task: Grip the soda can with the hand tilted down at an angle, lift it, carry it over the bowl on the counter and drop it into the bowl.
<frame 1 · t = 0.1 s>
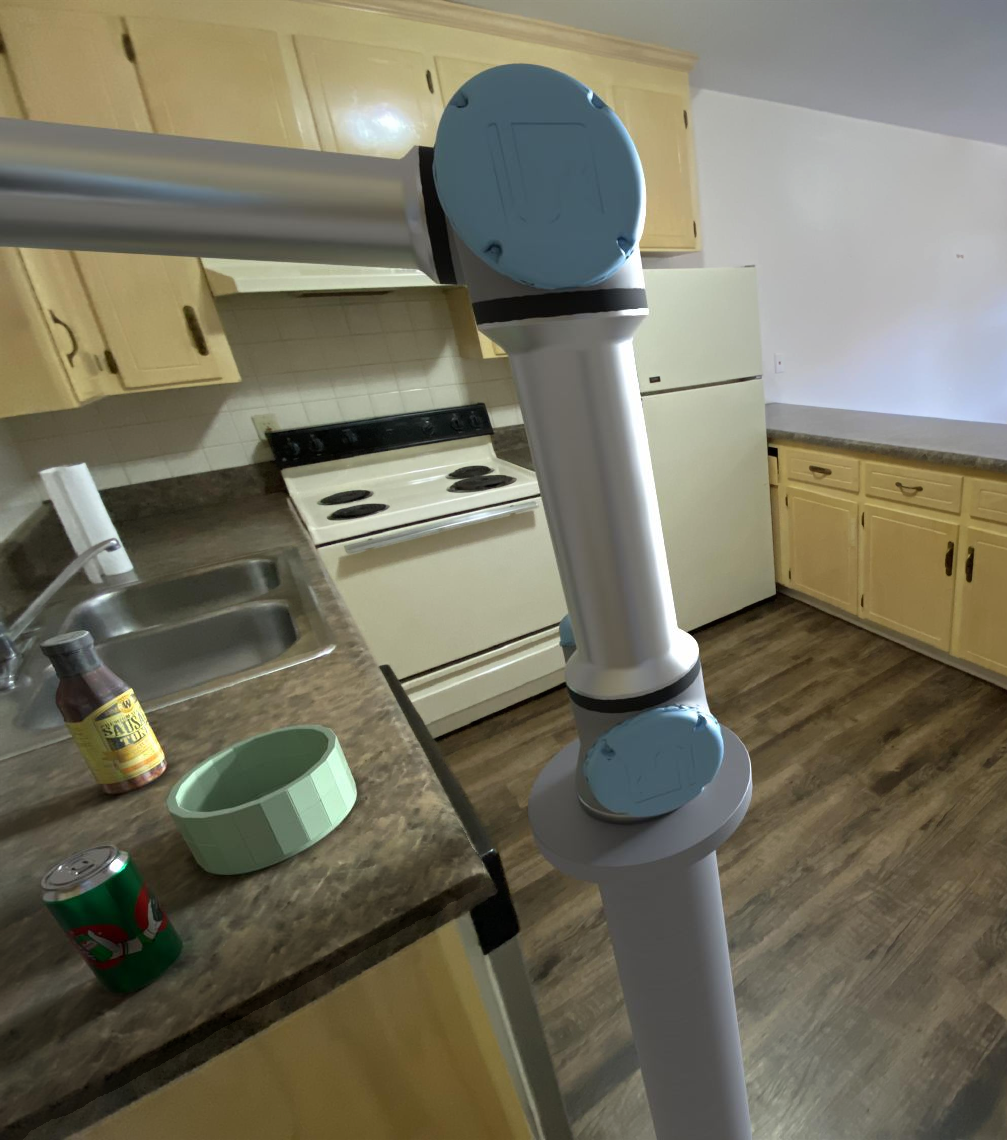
soda can: (148, 970, 53), on the countertop
sauce bottle: (139, 779, 78), on the countertop
bowl: (281, 820, 69), on the countertop
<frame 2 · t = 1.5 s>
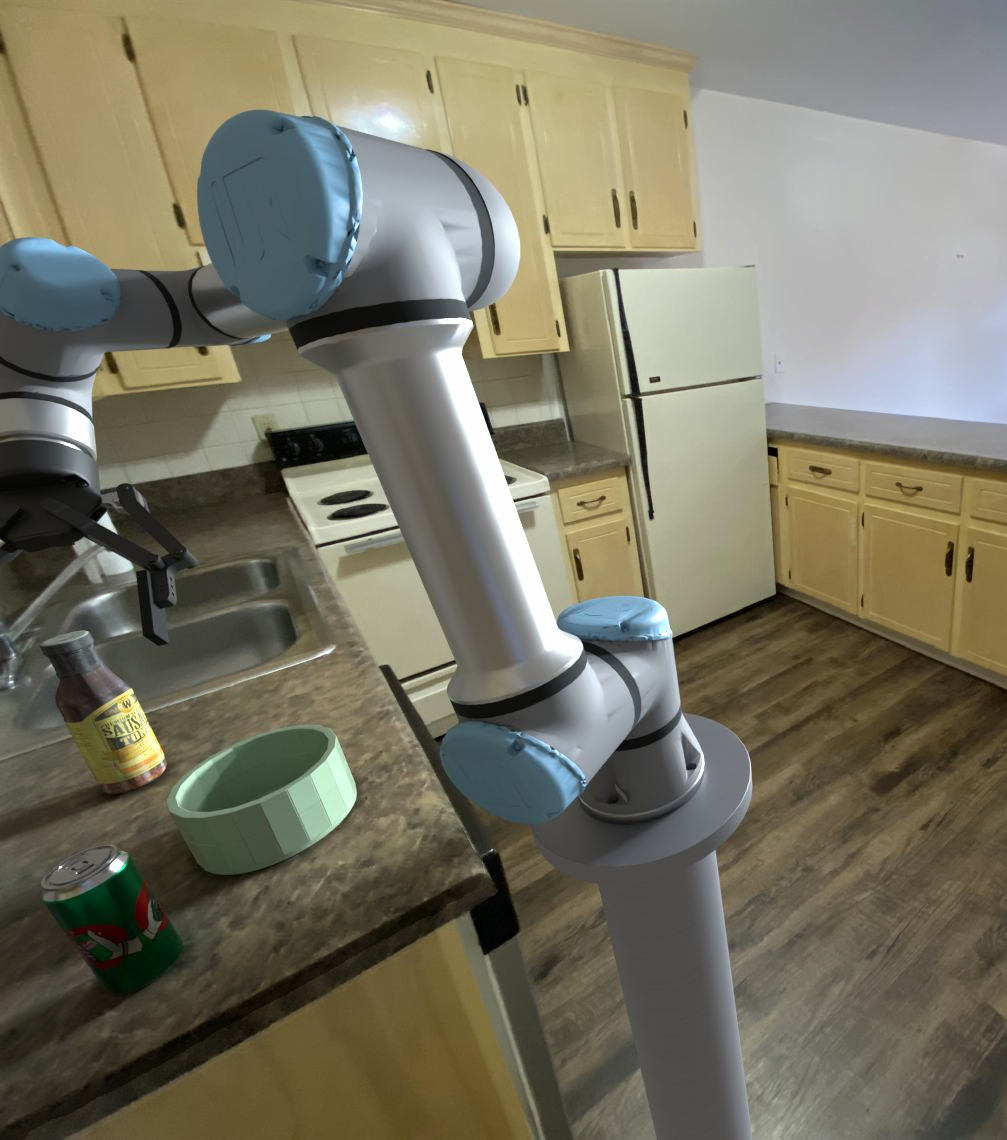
hand: (52, 664, 52), 25 cm above the countertop, tool tilted 45°, fingers open, 13 cm apart
nothing on the countertop moved.
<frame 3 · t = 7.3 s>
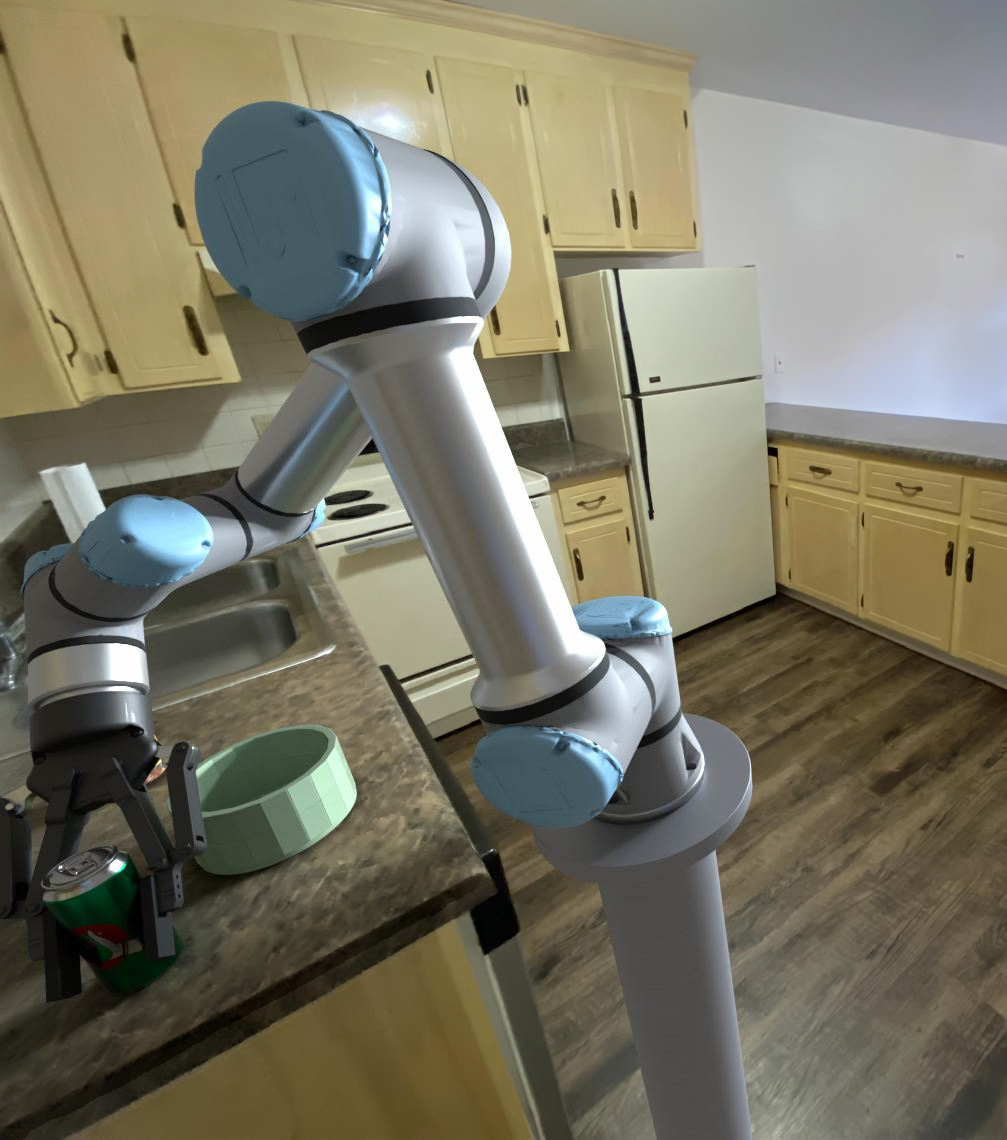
hand: (114, 977, 49), 3 cm above the countertop, tool tilted 45°, fingers closed on soda can, 5 cm apart
soda can: (148, 970, 53), on the countertop, touching gripper
everything else where it was.
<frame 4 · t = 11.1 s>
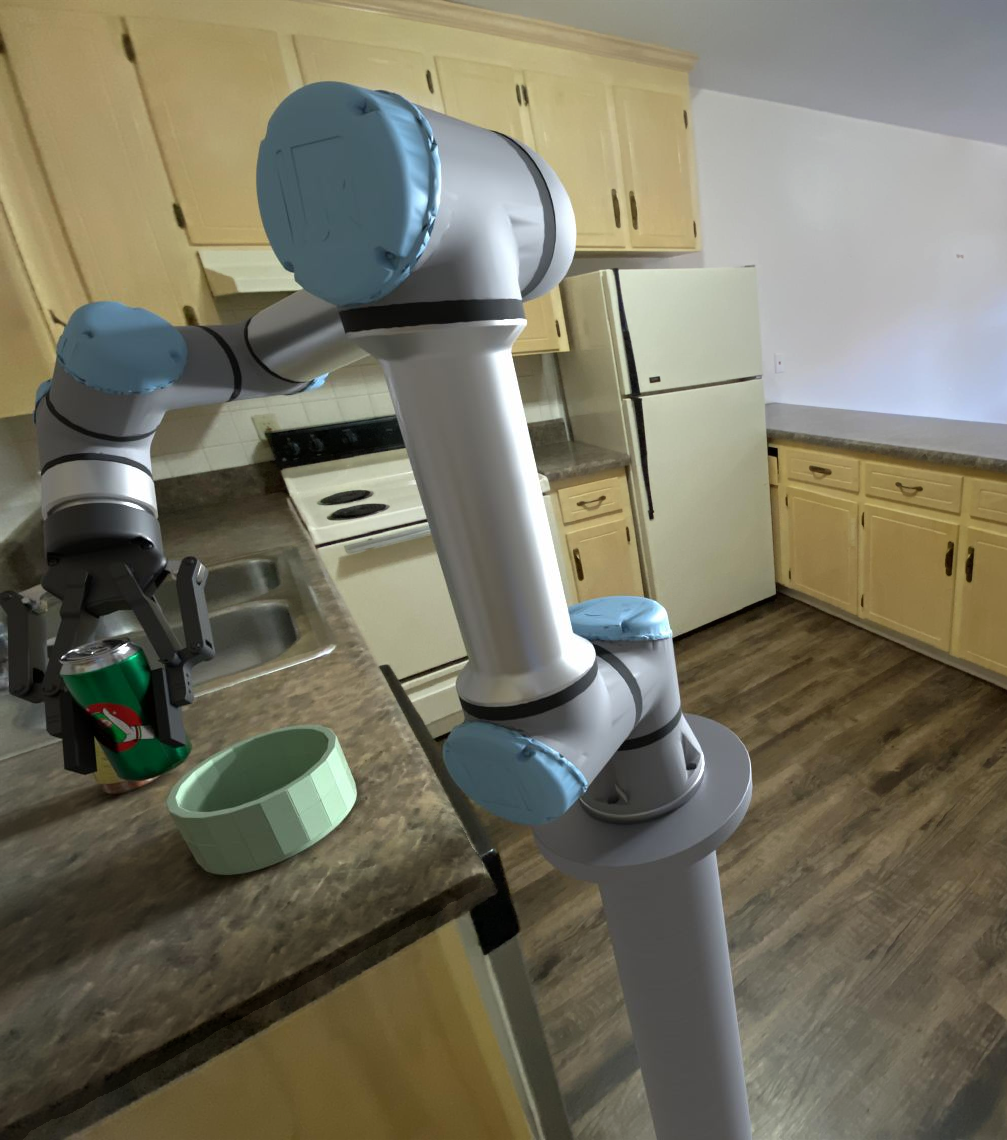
hand: (128, 756, 51), 18 cm above the countertop, tool tilted 45°, fingers closed on soda can, 5 cm apart
soda can: (160, 767, 56), point 15 cm above the countertop, touching gripper
everything else where it was.
when the fingers open (9 cm above the countertop, at t = 15.2 s): soda can drops 5 cm, resting on bowl.
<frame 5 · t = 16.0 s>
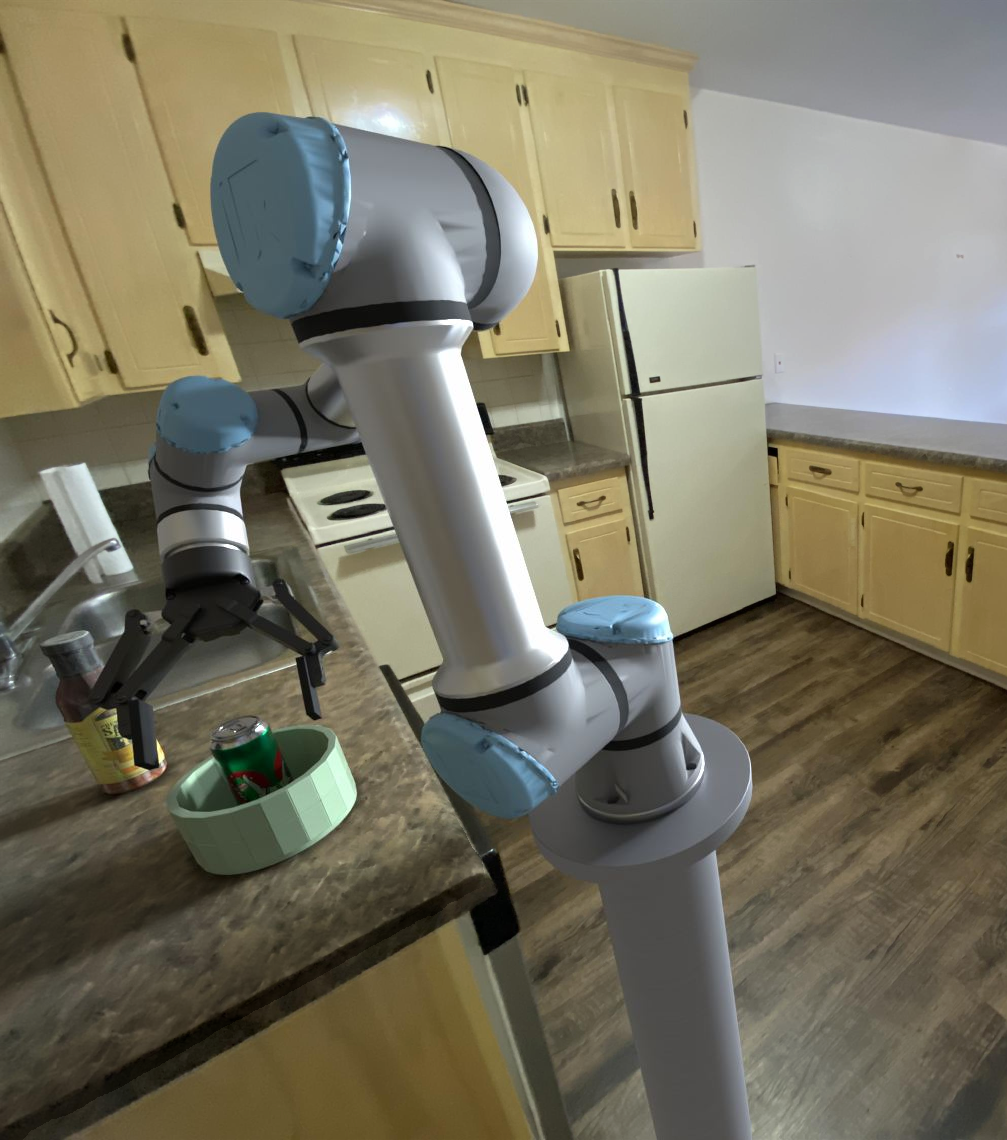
hand: (234, 740, 62), 12 cm above the countertop, tool tilted 45°, fingers open, 13 cm apart
soda can: (278, 817, 69), resting on bowl
everything else where it was.
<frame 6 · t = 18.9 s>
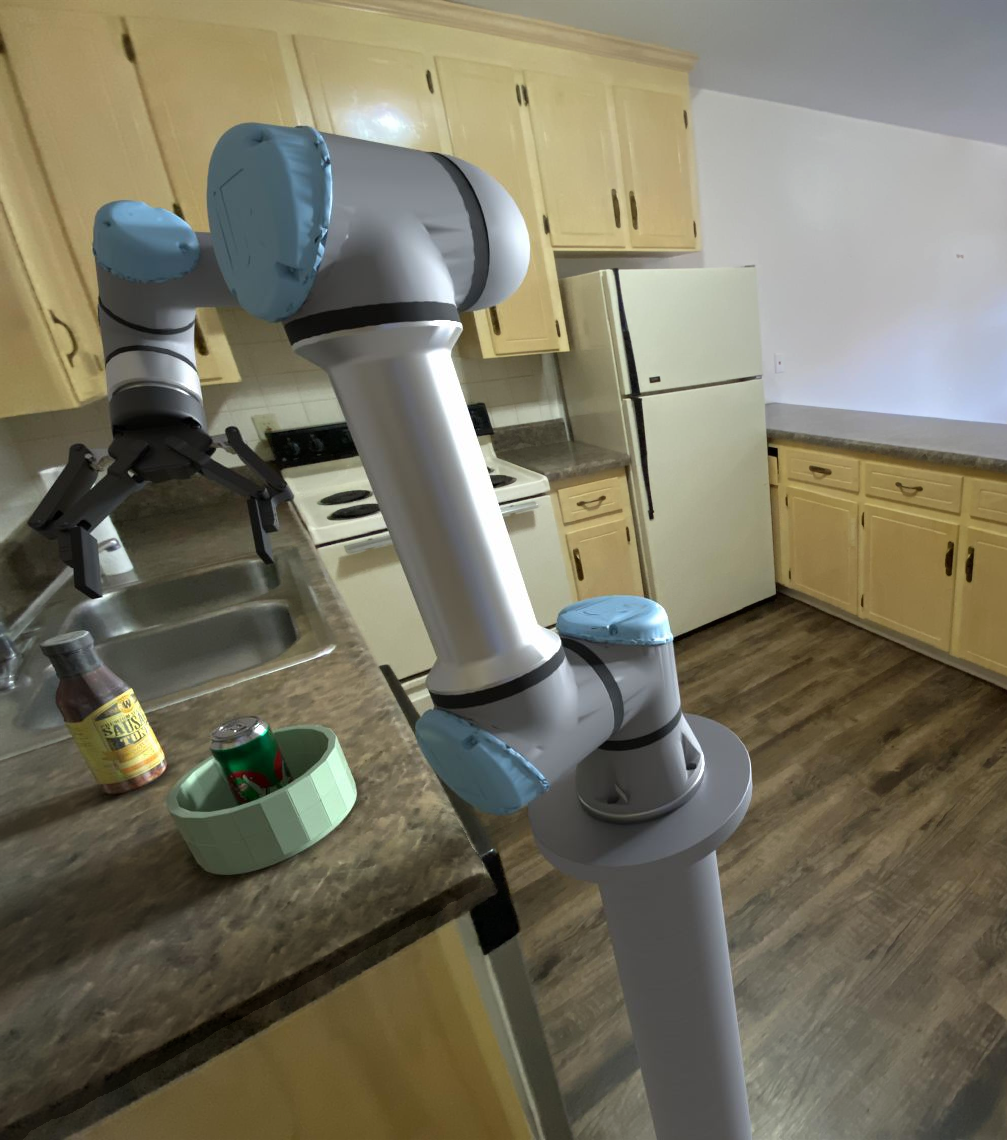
hand: (181, 574, 61), 29 cm above the countertop, tool tilted 45°, fingers open, 13 cm apart
nothing on the countertop moved.
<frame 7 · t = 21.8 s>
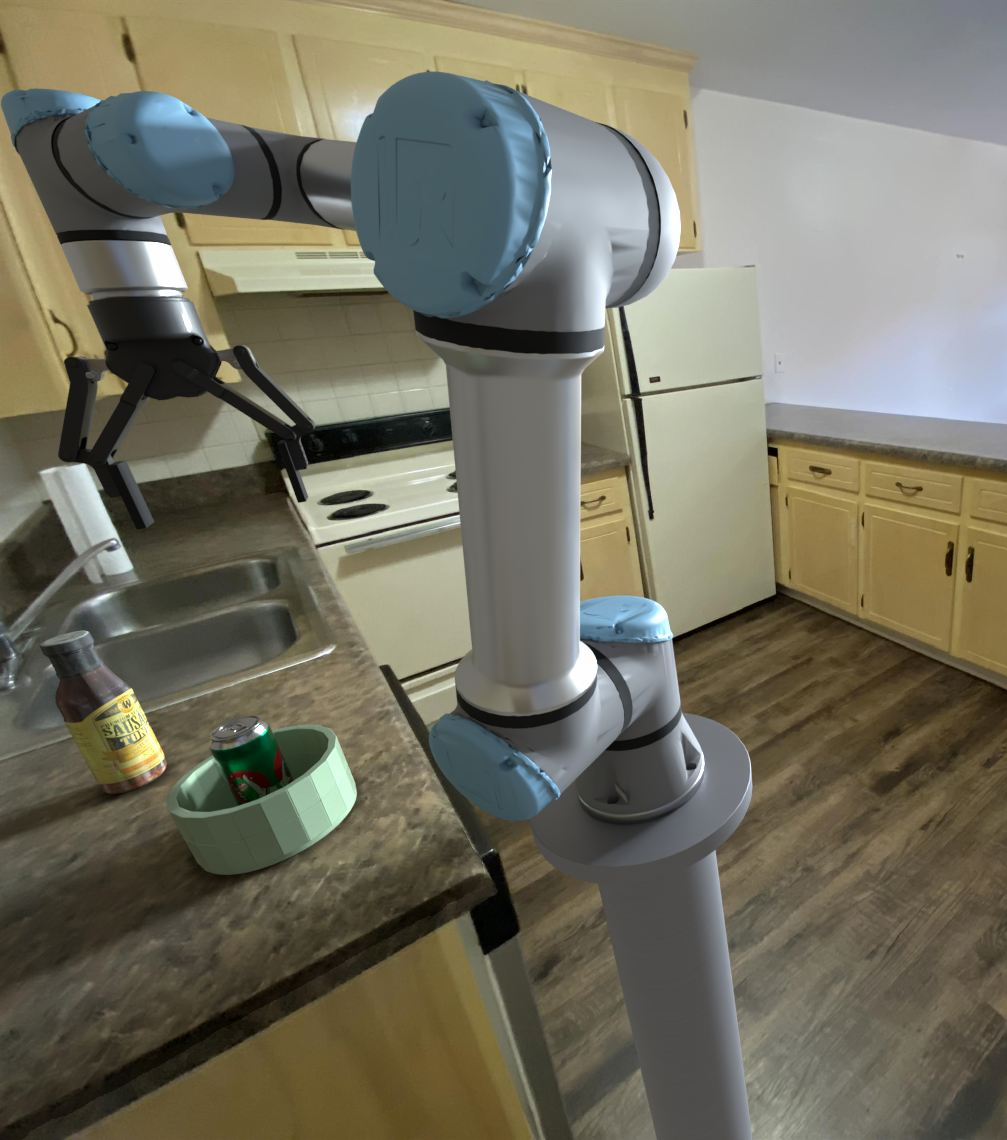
hand: (228, 512, 67), 33 cm above the countertop, tool pointing down, fingers open, 13 cm apart
nothing on the countertop moved.
at the end: soda can inside the target area in the bowl (0.2 cm from its centre), point 0.4 cm above the bowl's base; the gripper is holding nothing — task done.
